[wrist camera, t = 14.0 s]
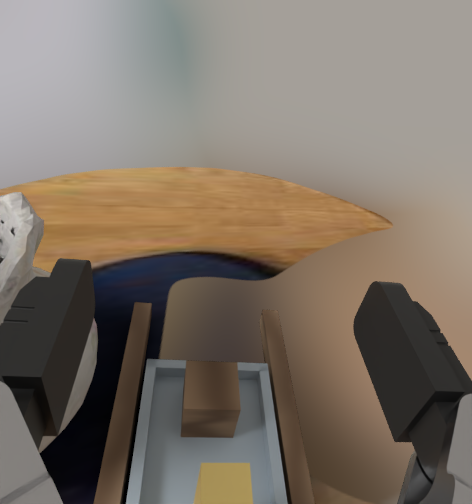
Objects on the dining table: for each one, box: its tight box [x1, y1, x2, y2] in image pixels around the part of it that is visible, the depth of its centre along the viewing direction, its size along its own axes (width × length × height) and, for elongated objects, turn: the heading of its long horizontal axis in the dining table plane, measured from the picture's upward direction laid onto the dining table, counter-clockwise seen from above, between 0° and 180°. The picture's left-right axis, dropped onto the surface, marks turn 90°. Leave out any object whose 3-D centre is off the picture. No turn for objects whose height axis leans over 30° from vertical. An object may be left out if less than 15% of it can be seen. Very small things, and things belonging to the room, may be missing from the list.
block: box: [181, 360, 241, 438], centre depth 37 cm, size 5×5×5 cm
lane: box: [94, 302, 315, 504], centre depth 40 cm, size 18×24×2 cm
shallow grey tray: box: [126, 359, 288, 504], centre depth 32 cm, size 13×18×13 cm
